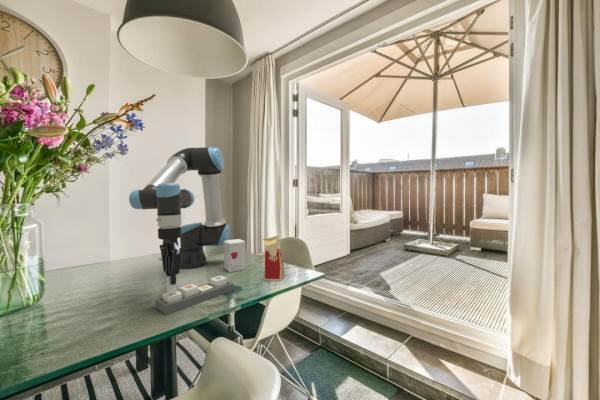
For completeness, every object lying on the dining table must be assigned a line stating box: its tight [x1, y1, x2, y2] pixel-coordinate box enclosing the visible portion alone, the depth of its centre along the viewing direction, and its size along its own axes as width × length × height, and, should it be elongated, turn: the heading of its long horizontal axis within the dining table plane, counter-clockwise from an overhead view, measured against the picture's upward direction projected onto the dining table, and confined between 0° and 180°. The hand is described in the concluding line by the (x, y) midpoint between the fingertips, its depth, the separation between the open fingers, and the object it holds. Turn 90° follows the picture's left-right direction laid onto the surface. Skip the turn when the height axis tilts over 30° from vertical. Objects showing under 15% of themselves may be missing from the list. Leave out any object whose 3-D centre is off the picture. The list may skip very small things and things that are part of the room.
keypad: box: [154, 280, 235, 315], centre depth 101 cm, size 9×27×3 cm, turn 139°
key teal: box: [161, 290, 182, 304], centre depth 94 cm, size 5×5×3 cm
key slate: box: [209, 275, 228, 288], centre depth 108 cm, size 5×5×3 cm
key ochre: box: [198, 284, 213, 293], centre depth 103 cm, size 5×5×3 cm
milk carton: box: [262, 235, 286, 282], centre depth 123 cm, size 9×9×20 cm
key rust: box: [179, 283, 199, 298], centre depth 98 cm, size 5×5×3 cm
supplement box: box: [223, 238, 247, 273], centre depth 137 cm, size 9×9×15 cm
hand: (172, 292), depth 93 cm, fingers closed
